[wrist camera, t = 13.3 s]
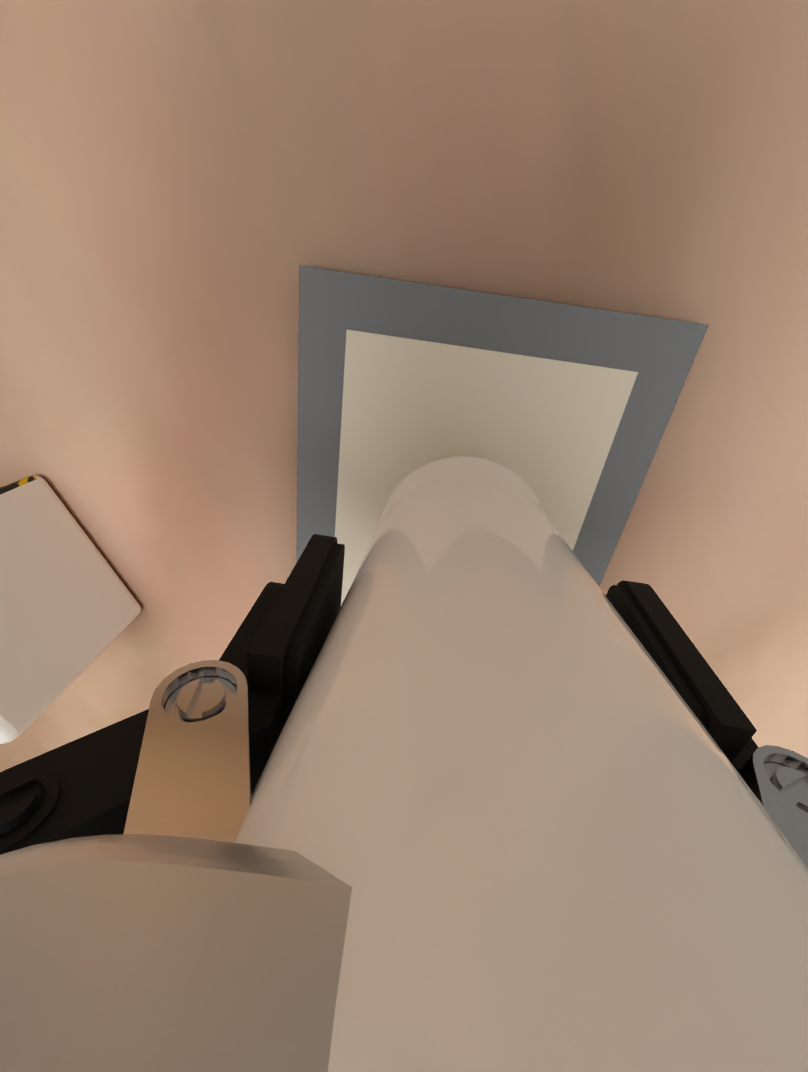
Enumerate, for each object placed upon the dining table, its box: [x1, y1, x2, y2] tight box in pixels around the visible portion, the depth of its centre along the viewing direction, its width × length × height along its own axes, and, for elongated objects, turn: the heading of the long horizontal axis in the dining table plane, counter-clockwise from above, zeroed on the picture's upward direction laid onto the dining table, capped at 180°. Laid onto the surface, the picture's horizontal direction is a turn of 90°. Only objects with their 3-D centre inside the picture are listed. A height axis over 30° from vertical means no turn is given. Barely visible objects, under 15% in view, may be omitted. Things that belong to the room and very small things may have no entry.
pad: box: [297, 266, 708, 605], centre depth 16 cm, size 14×12×1 cm
